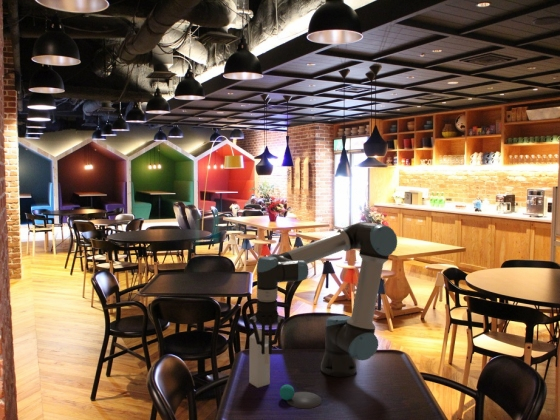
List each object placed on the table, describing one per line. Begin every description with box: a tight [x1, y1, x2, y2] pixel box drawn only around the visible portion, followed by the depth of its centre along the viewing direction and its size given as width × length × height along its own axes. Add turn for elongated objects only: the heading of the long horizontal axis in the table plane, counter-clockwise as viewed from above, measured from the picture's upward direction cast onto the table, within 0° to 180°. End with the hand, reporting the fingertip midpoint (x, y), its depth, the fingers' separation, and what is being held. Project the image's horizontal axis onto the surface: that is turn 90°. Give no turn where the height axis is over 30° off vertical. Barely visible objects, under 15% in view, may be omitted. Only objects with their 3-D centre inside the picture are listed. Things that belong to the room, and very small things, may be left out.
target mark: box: [286, 391, 322, 409], centre depth 183 cm, size 13×13×1 cm
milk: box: [248, 327, 271, 388], centre depth 196 cm, size 6×6×22 cm
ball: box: [279, 384, 295, 401], centre depth 183 cm, size 6×6×6 cm
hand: (266, 362), depth 181 cm, fingers closed
